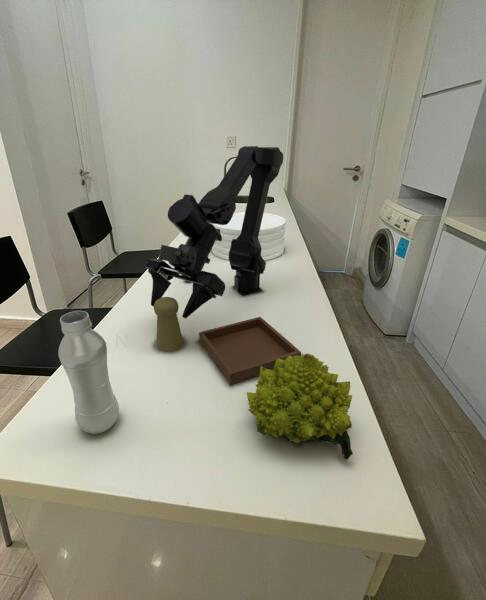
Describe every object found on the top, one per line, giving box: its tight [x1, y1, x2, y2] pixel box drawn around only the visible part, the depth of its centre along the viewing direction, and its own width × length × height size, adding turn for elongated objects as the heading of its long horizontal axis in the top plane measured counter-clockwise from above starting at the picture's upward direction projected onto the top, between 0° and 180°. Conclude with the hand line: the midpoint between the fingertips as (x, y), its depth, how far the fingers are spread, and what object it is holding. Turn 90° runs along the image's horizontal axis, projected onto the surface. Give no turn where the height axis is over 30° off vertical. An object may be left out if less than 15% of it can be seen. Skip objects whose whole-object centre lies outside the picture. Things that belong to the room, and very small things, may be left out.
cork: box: [153, 296, 184, 353], centre depth 71 cm, size 6×6×11 cm
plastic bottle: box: [57, 310, 120, 435], centre depth 49 cm, size 6×7×20 cm
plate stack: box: [210, 211, 287, 261], centre depth 128 cm, size 28×28×12 cm
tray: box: [198, 316, 302, 386], centre depth 69 cm, size 16×16×3 cm
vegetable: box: [246, 353, 354, 461], centre depth 51 cm, size 15×16×15 cm
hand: (167, 311), depth 70 cm, fingers open, 9 cm apart
